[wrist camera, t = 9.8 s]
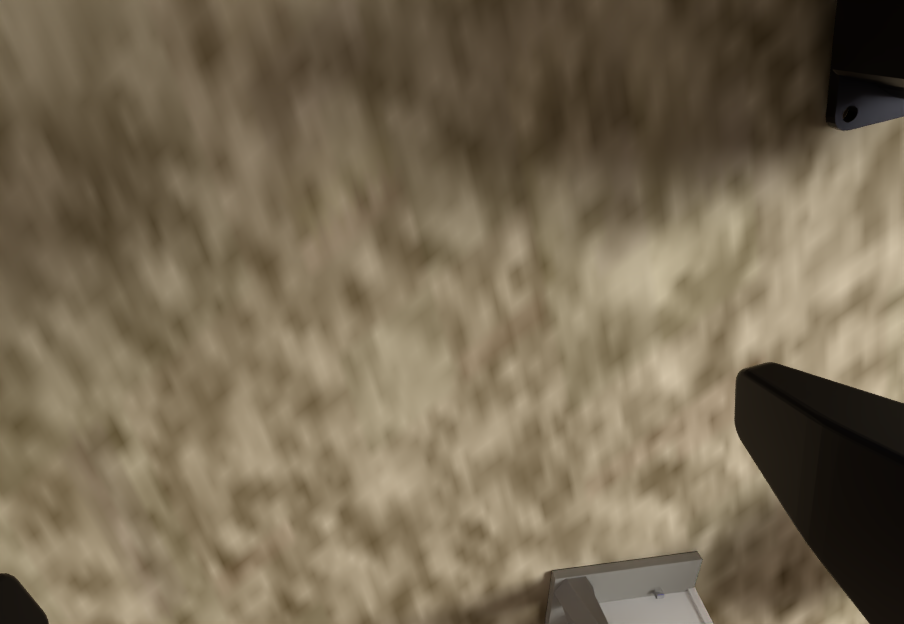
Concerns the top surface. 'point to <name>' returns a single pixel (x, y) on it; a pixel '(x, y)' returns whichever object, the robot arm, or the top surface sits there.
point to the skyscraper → (629, 593)
